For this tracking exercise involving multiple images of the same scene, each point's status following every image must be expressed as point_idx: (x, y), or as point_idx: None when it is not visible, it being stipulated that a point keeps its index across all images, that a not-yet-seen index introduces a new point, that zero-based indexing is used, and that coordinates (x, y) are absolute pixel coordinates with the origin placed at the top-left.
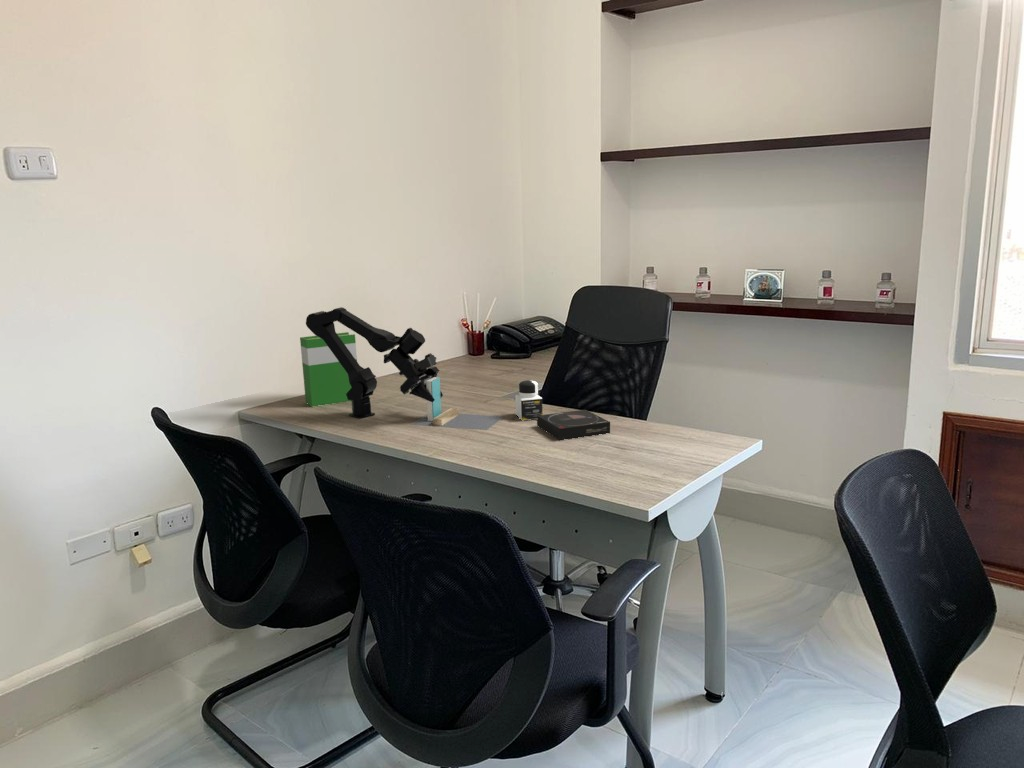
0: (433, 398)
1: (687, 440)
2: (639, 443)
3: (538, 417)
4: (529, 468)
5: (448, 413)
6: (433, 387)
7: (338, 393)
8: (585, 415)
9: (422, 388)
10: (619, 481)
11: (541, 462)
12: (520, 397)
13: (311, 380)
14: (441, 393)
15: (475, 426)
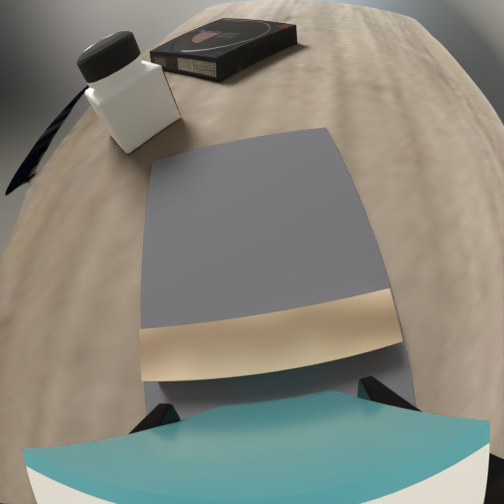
0: (373, 384)
1: (228, 12)
2: (258, 17)
3: (220, 59)
4: (429, 54)
5: (257, 331)
6: (367, 426)
7: None
8: (191, 35)
9: (493, 473)
10: (383, 18)
11: (402, 46)
12: (135, 76)
13: None
14: (159, 415)
15: (312, 168)
